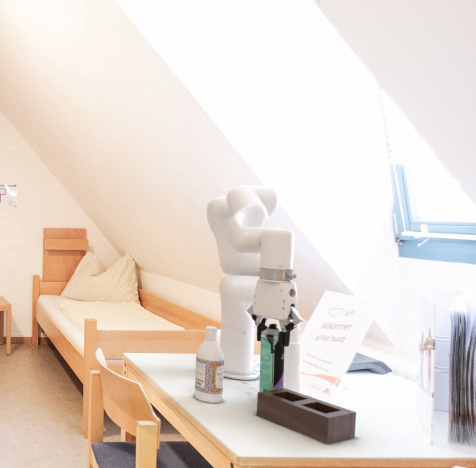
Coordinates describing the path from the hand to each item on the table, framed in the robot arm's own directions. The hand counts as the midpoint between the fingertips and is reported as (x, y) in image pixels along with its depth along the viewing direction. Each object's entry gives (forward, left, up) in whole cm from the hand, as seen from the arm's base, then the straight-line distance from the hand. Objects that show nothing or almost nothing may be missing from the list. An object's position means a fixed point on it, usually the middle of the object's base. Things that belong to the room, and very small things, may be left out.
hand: (272, 342), depth 141 cm
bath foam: (+11, -10, -17) cm, 23 cm away
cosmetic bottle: (-11, -2, -17) cm, 21 cm away
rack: (+4, +12, -17) cm, 21 cm away
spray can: (0, 0, -15) cm, 15 cm away
